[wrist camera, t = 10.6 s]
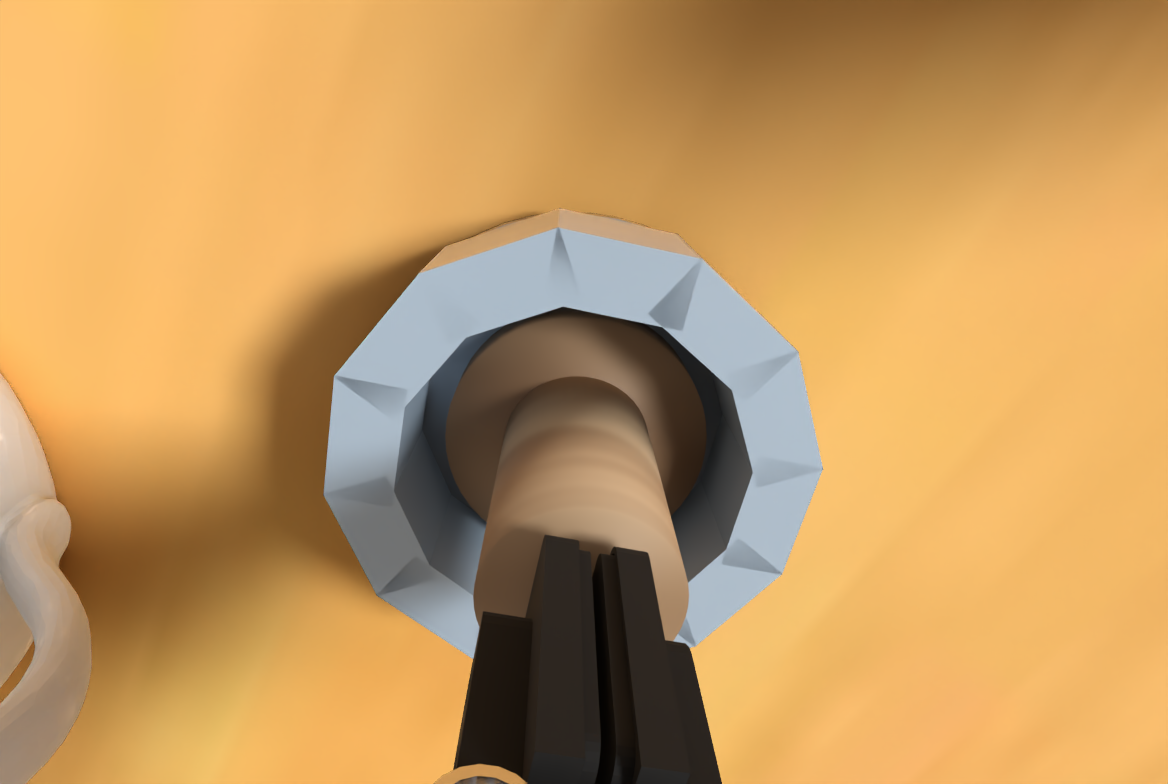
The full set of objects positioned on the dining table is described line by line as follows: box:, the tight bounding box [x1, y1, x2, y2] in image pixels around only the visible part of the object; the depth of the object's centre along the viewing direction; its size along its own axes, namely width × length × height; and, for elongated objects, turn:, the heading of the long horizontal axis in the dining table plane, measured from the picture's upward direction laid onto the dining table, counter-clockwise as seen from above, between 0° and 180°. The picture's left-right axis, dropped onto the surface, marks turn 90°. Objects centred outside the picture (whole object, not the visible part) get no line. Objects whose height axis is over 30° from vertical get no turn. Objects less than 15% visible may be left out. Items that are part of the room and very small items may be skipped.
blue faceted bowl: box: [323, 208, 823, 659], centre depth 17 cm, size 11×11×4 cm
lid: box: [445, 307, 707, 641], centre depth 15 cm, size 6×6×7 cm
